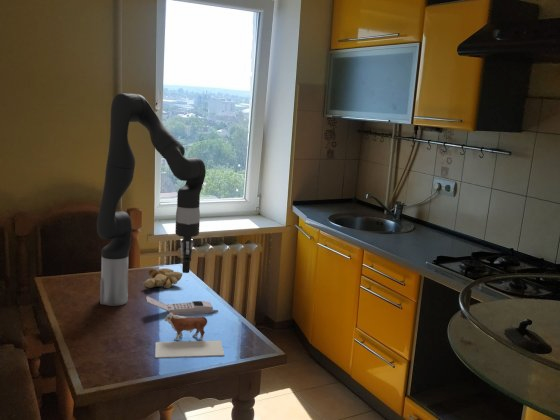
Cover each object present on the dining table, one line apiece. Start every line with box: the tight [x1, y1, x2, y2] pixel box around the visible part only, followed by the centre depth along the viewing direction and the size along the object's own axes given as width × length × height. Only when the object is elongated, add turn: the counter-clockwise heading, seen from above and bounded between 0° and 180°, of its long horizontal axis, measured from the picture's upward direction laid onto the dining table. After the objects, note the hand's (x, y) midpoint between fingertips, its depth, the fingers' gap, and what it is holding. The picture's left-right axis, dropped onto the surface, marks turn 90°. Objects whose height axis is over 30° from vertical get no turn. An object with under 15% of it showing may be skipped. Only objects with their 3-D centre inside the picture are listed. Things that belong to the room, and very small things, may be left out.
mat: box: [154, 339, 225, 359], centre depth 162 cm, size 20×10×1 cm, turn 102°
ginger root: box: [142, 267, 183, 289], centre depth 217 cm, size 16×16×8 cm
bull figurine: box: [163, 313, 208, 342], centre depth 168 cm, size 4×13×8 cm, turn 95°
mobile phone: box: [145, 295, 219, 316], centre depth 190 cm, size 6×6×25 cm
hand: (185, 272), depth 174 cm, fingers closed
